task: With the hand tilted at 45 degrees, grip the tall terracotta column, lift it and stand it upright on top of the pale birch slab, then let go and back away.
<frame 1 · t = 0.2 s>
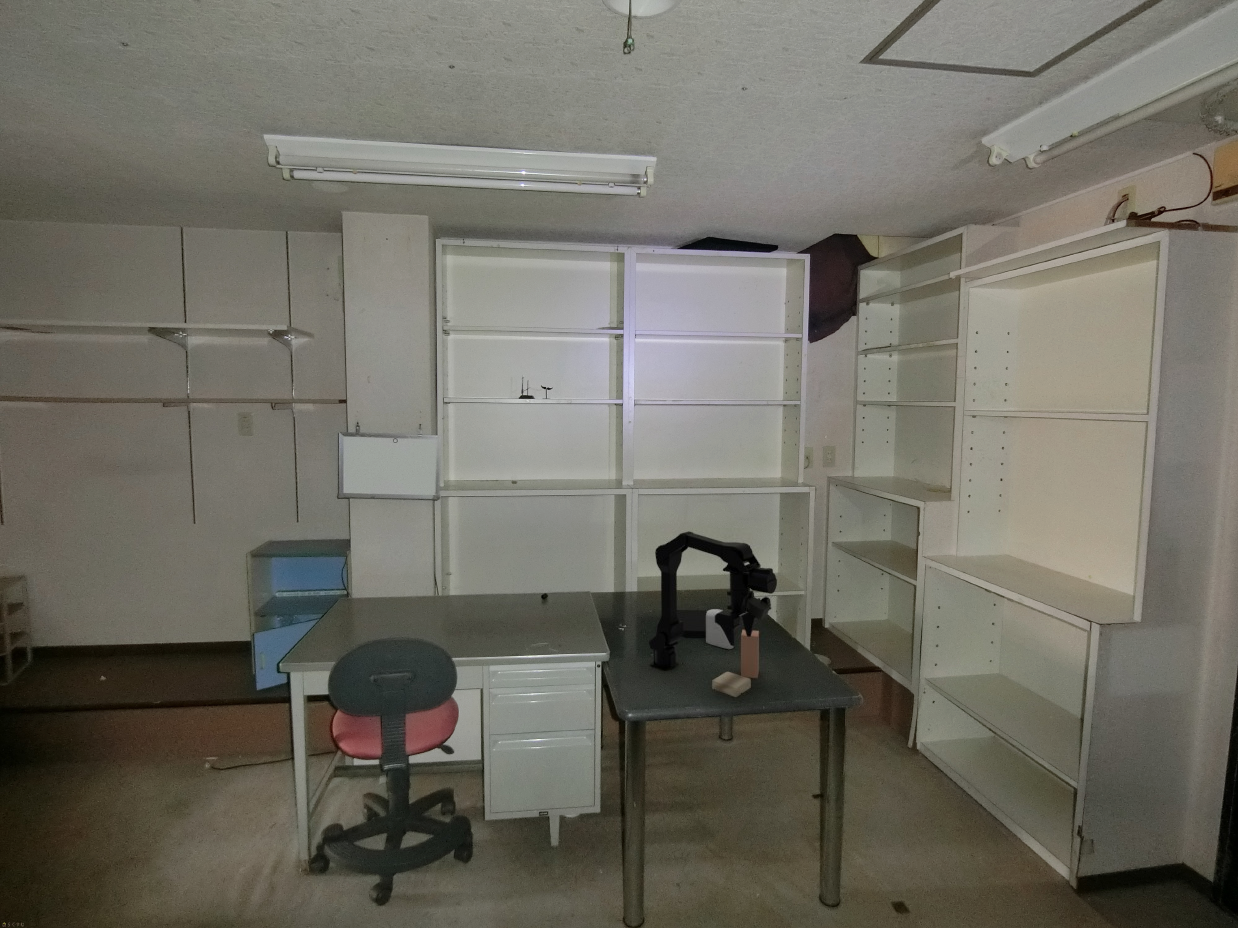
hand: (740, 640, 182), 15 cm above the table, tool pointing down, fingers open, 9 cm apart
slab: (731, 689, 185), on the table
column: (749, 674, 194), on the table
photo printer: (719, 645, 218), on the table
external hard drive: (688, 628, 237), on the table
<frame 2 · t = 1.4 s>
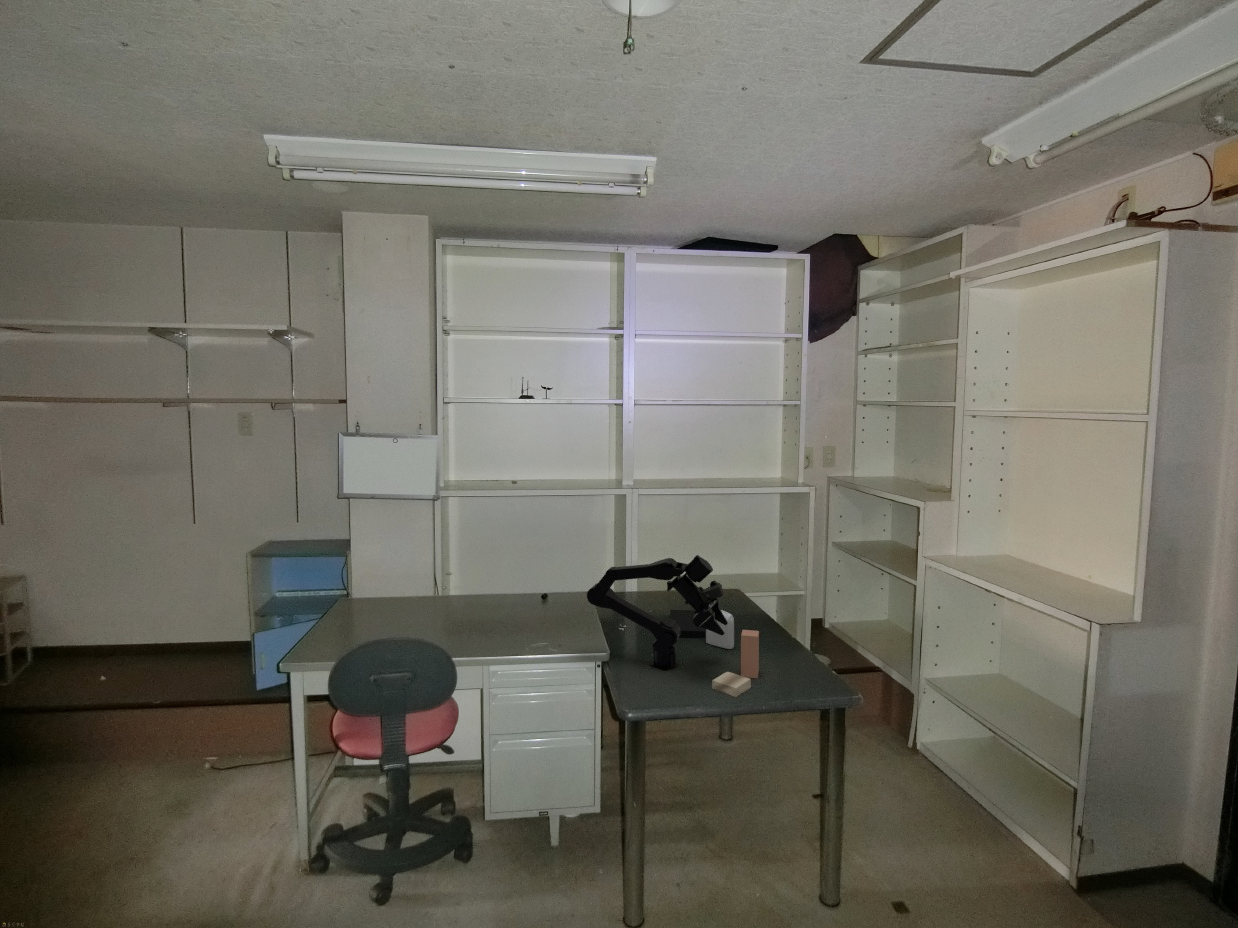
hand: (725, 629, 195), 14 cm above the table, tool tilted 45°, fingers open, 9 cm apart
nothing on the table moved.
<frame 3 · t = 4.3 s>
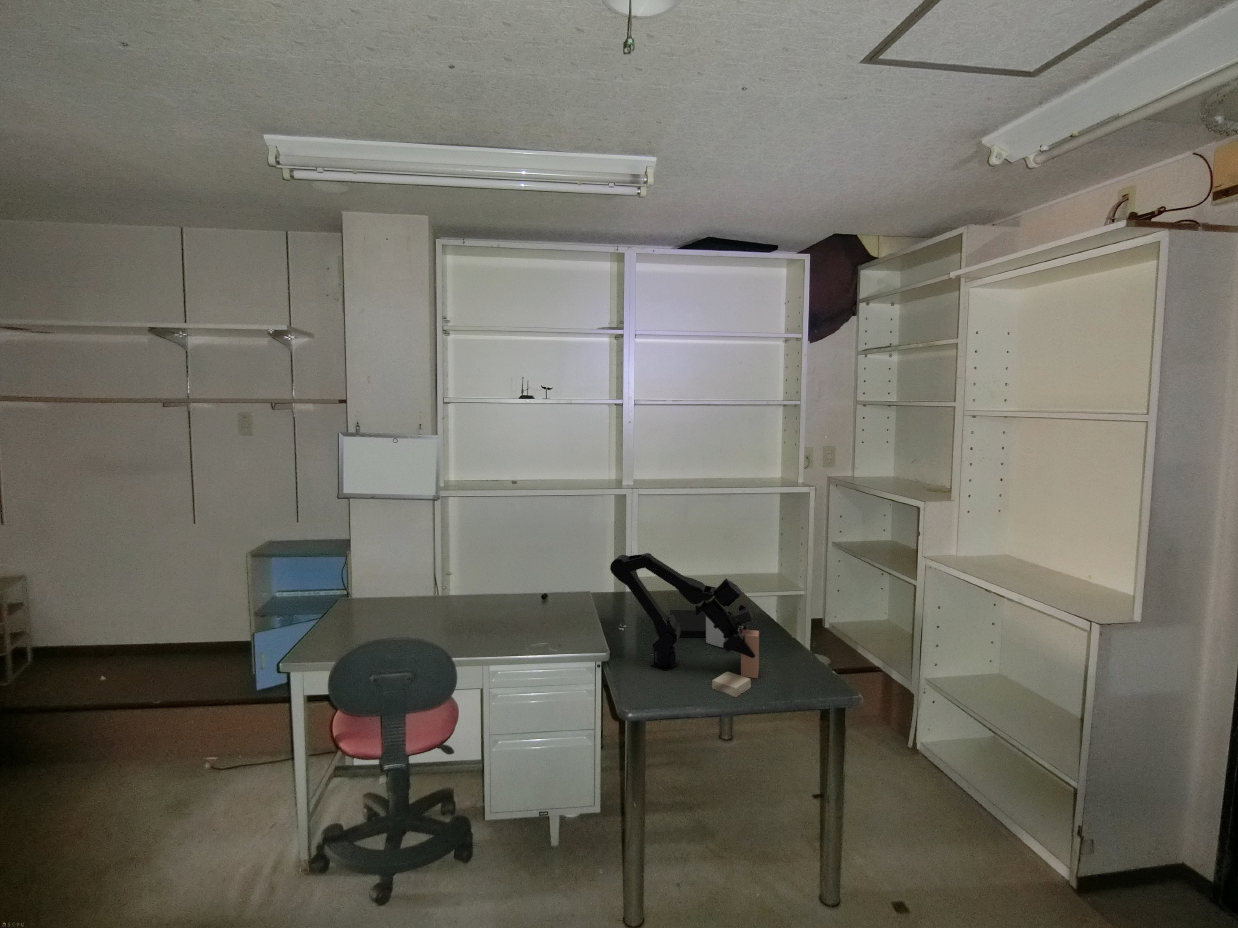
hand: (754, 653, 193), 7 cm above the table, tool tilted 45°, fingers closed on column, 5 cm apart
column: (749, 673, 194), on the table, touching gripper
everything else where it was.
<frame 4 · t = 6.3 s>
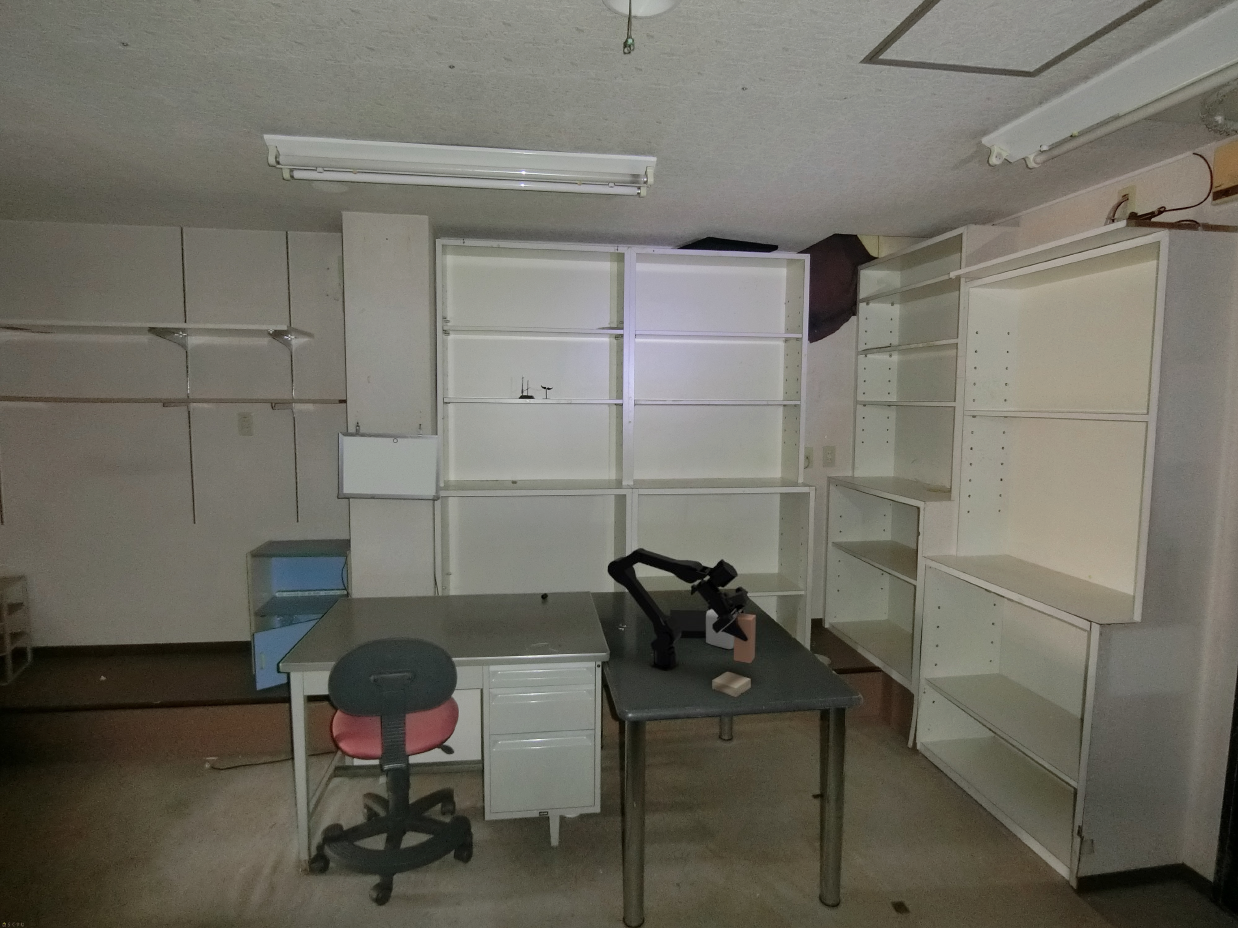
hand: (749, 637, 188), 13 cm above the table, tool tilted 45°, fingers closed on column, 5 cm apart
column: (744, 658, 189), point 7 cm above the table, touching gripper
everything else where it was.
when the fingers open (10 cm above the table, at t = 7.9 s): column drops 1 cm, resting on slab.
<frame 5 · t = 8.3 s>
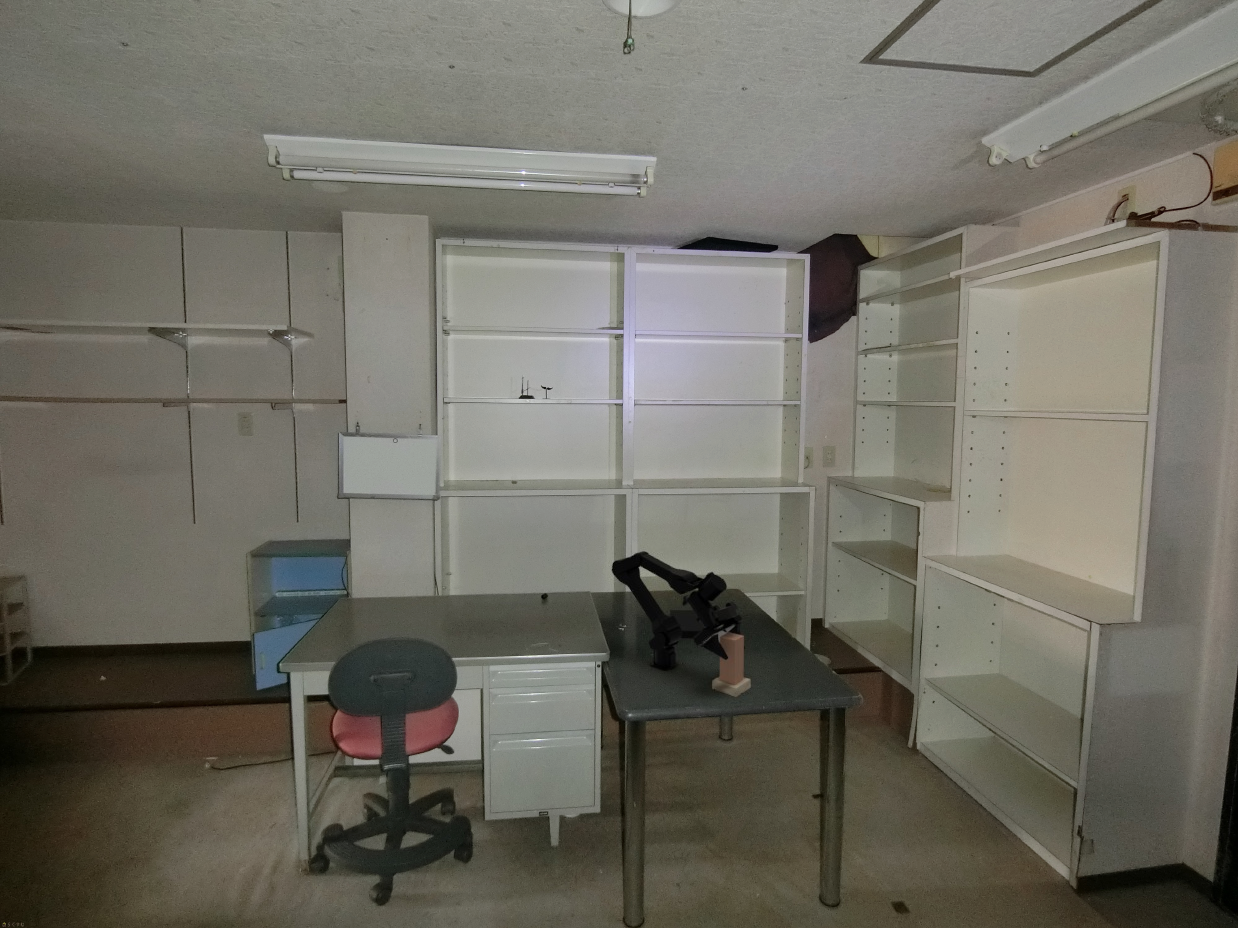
hand: (735, 654, 183), 11 cm above the table, tool tilted 45°, fingers open, 9 cm apart
slab: (731, 689, 185), on the table, touching column
column: (731, 679, 184), point 3 cm above the table, touching slab
everything else where it was.
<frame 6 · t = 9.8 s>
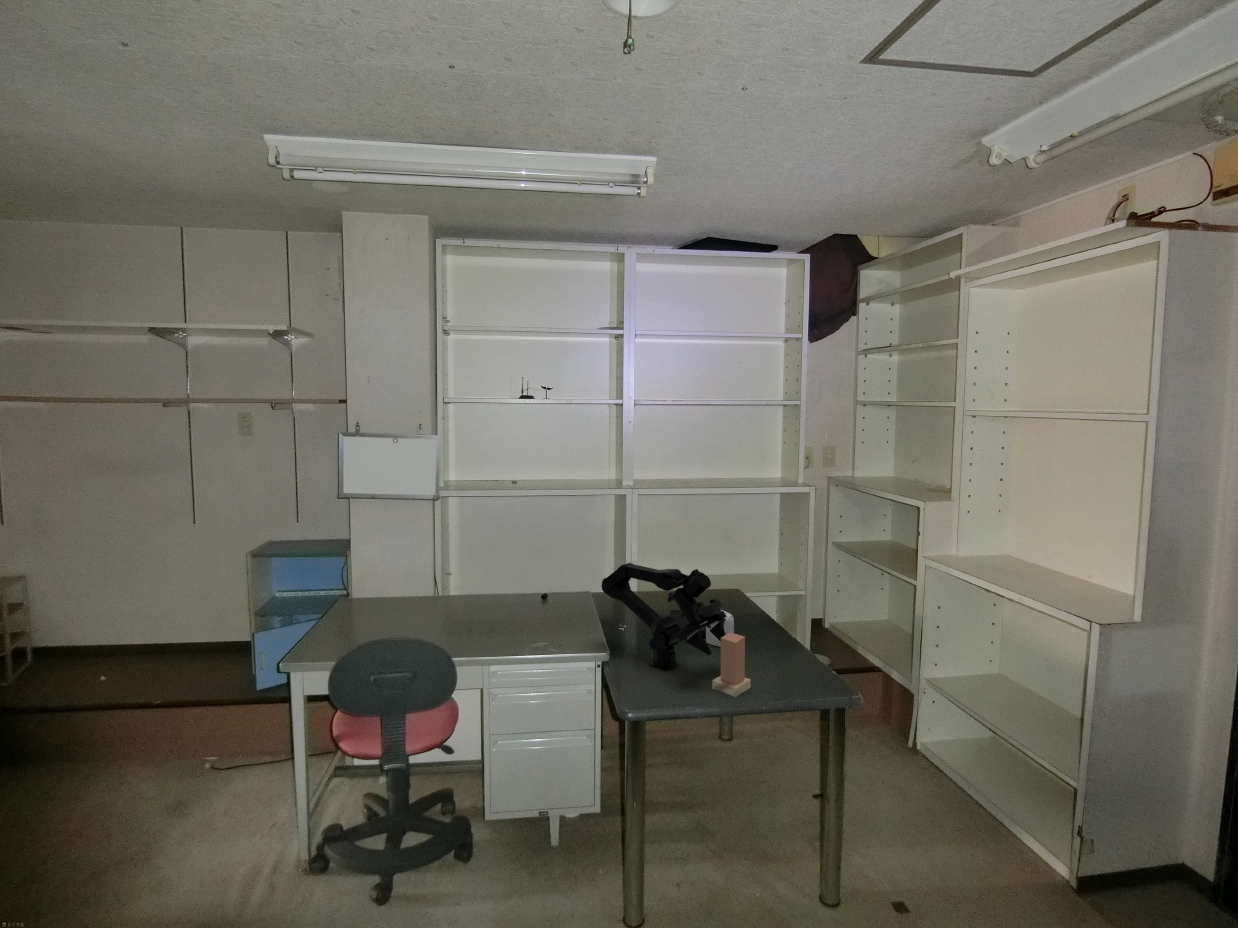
hand: (719, 649, 187), 10 cm above the table, tool tilted 45°, fingers open, 9 cm apart
slab: (731, 689, 185), on the table
column: (732, 679, 184), point 3 cm above the table
everything else where it was.
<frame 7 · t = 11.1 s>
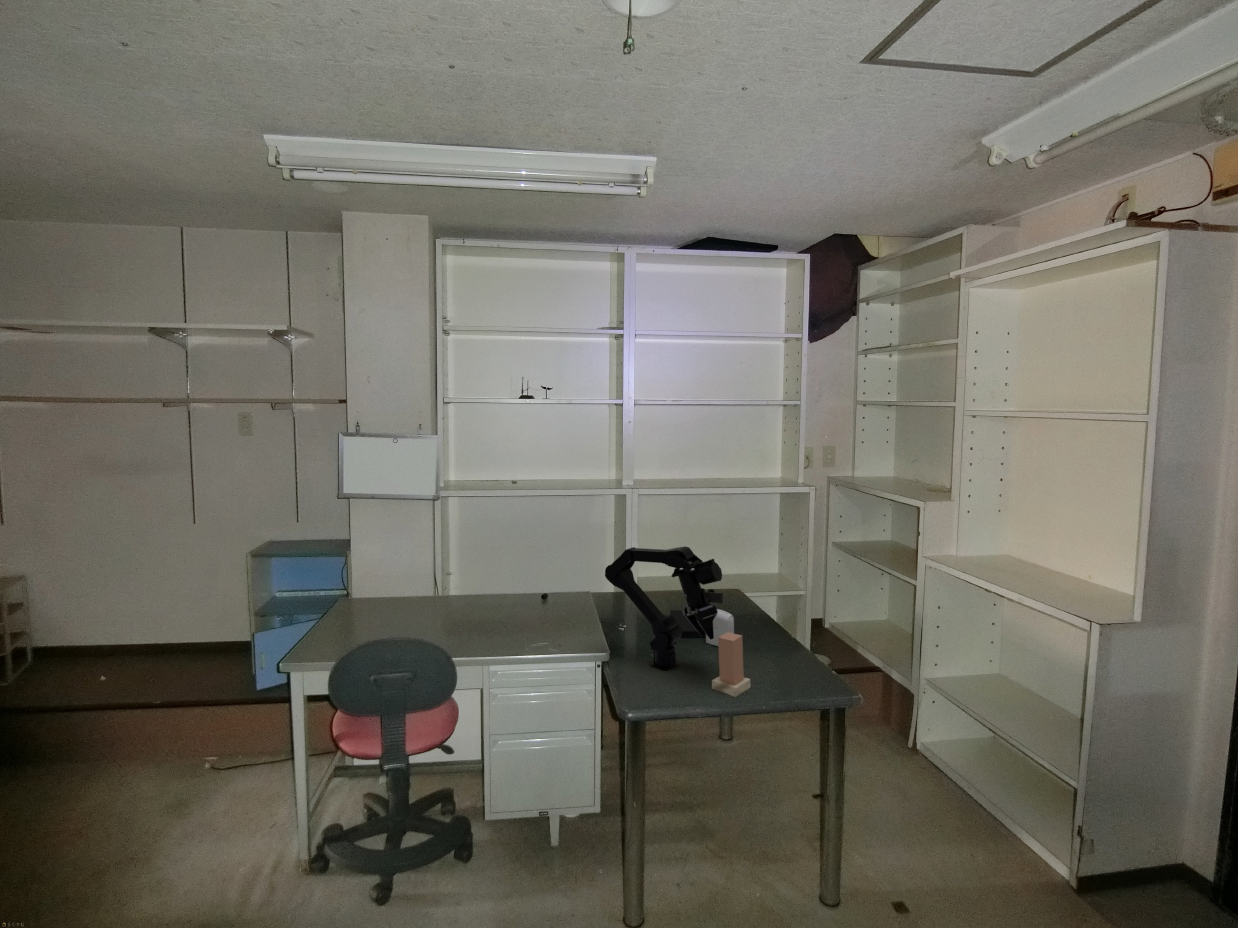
hand: (707, 637, 192), 12 cm above the table, tool tilted 20°, fingers open, 9 cm apart
slab: (731, 689, 185), on the table, touching column
column: (731, 679, 184), point 3 cm above the table, touching slab
everything else where it was.
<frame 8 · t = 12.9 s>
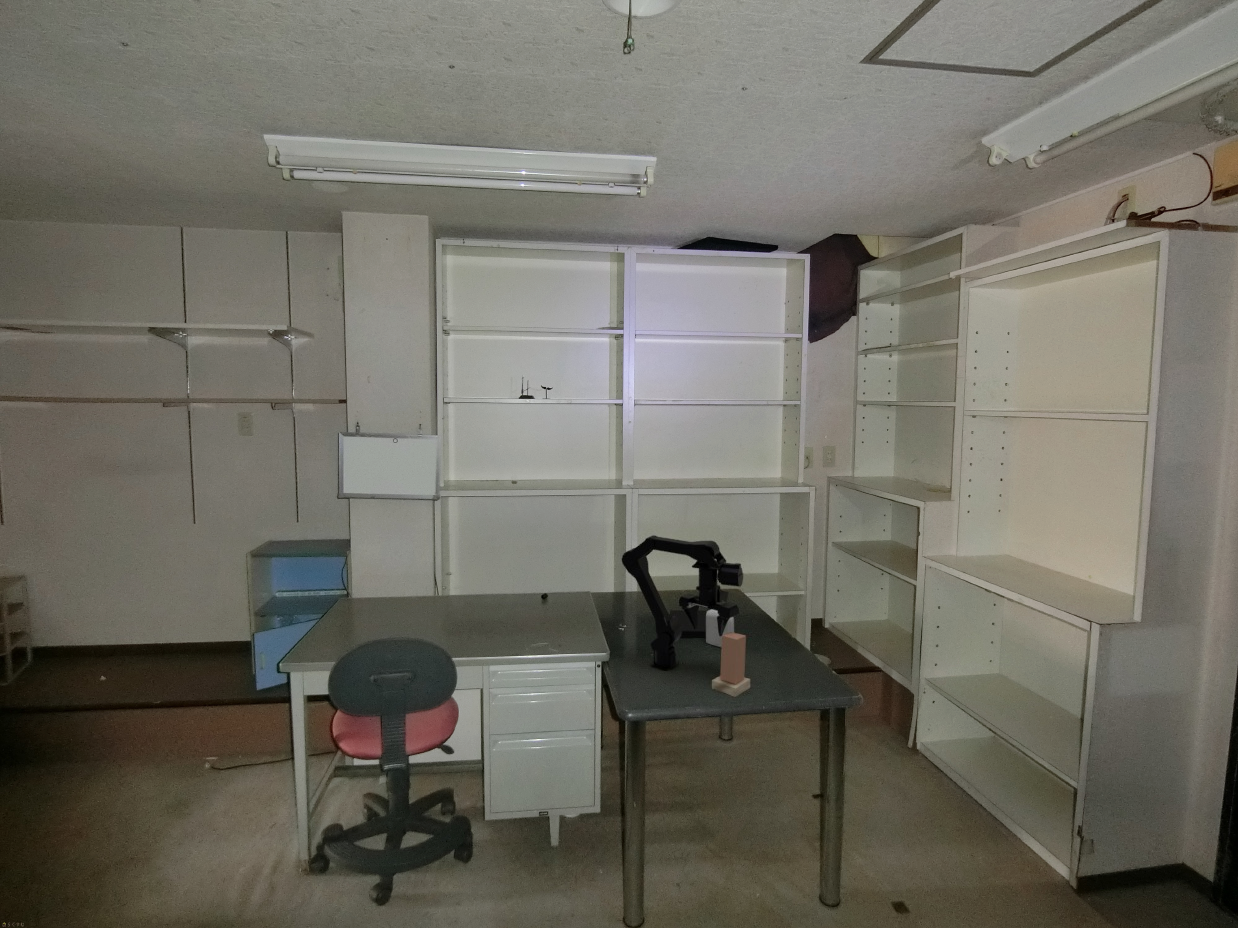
hand: (708, 632, 194), 13 cm above the table, tool pointing down, fingers open, 9 cm apart
at the end: column 0.5 cm off-centre on the slab, point 3.2 cm above the slab's base; column tilted 4°; the gripper is holding nothing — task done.
